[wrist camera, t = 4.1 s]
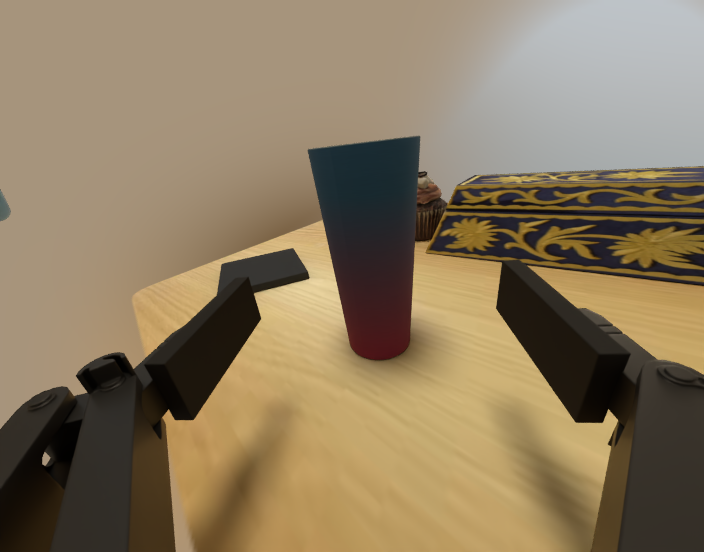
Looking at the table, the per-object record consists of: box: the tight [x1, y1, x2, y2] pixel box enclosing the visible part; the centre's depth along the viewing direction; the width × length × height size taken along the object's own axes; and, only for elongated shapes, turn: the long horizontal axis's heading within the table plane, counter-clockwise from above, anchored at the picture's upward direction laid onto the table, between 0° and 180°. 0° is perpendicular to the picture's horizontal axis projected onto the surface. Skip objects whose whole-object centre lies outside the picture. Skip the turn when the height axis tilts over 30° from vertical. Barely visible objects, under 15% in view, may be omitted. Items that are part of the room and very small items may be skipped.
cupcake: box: [415, 171, 448, 241], centre depth 46 cm, size 10×10×10 cm
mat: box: [217, 248, 309, 295], centre depth 39 cm, size 11×11×1 cm
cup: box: [308, 136, 420, 360], centre depth 20 cm, size 7×7×15 cm
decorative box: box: [426, 166, 704, 285], centre depth 33 cm, size 11×30×9 cm, turn 55°
